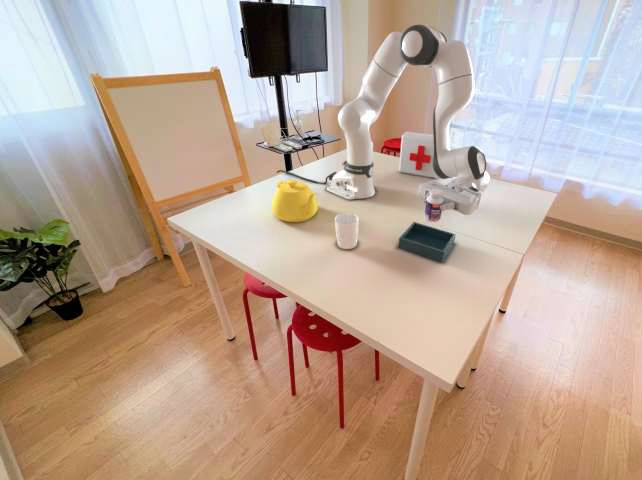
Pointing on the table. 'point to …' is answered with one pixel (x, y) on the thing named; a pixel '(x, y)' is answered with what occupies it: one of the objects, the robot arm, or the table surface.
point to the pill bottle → (433, 205)
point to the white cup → (346, 230)
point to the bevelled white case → (417, 154)
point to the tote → (427, 241)
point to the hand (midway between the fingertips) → (432, 204)
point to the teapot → (294, 201)
